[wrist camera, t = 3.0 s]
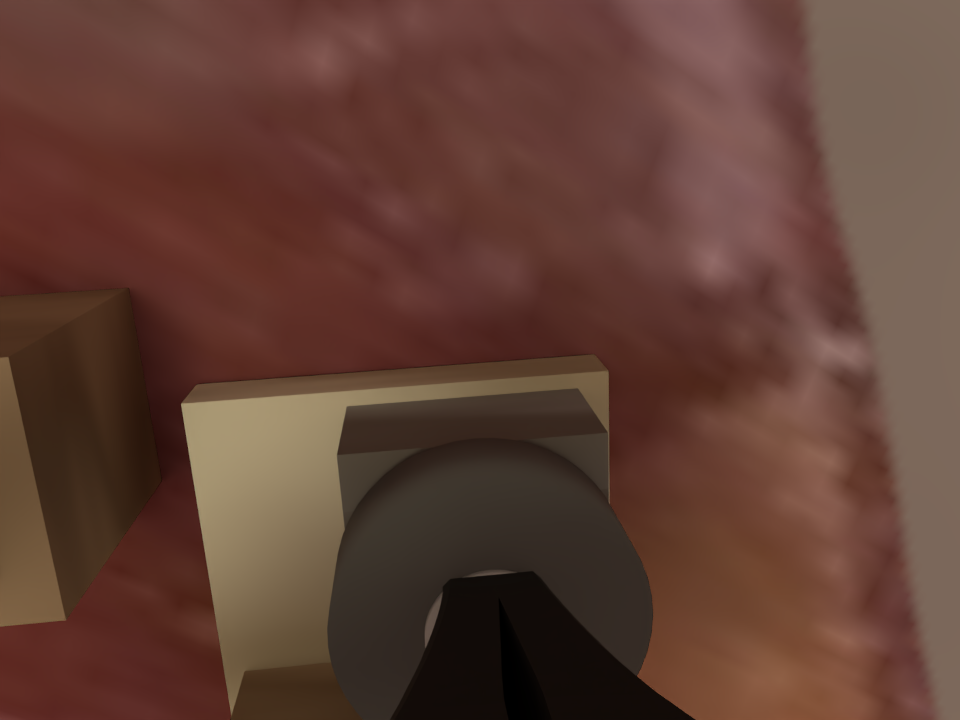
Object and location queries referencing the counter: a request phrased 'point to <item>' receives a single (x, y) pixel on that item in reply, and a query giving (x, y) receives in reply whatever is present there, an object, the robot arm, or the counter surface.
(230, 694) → the chassis board
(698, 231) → the counter surface
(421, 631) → the wheel
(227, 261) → the counter surface
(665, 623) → the counter surface
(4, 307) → the wooden block
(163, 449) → the counter surface
